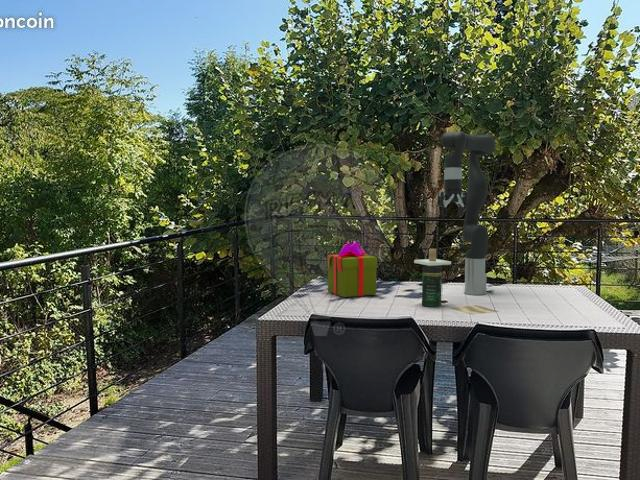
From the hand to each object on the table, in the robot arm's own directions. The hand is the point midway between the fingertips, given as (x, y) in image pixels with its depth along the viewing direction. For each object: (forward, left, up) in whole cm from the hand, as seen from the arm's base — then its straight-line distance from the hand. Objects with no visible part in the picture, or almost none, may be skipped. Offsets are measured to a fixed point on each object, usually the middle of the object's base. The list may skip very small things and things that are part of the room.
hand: (452, 216), depth 249 cm
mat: (+3, +19, -38) cm, 43 cm away
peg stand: (+13, +4, -20) cm, 24 cm away
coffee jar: (+13, +4, -38) cm, 41 cm away
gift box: (+29, -38, -38) cm, 61 cm away
